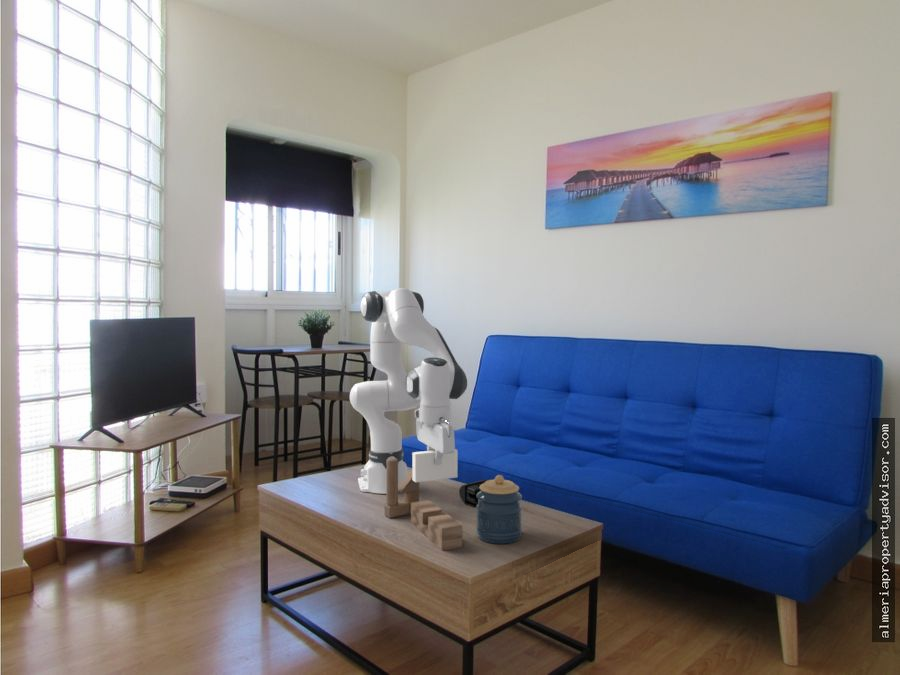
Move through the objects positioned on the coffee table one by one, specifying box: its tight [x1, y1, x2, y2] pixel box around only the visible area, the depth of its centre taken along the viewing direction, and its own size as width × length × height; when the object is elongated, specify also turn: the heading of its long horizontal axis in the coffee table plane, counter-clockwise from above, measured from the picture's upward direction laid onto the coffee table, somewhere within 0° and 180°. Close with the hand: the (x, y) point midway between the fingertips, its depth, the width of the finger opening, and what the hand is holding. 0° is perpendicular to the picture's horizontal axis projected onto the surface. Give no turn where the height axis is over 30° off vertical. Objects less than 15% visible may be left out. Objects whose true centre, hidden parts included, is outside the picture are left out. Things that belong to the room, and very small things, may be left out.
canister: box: [475, 474, 523, 545], centre depth 177 cm, size 13×13×18 cm
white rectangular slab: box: [411, 448, 459, 483], centre depth 178 cm, size 13×2×8 cm, turn 114°
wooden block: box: [384, 458, 420, 519], centre depth 195 cm, size 4×11×18 cm, turn 123°
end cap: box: [458, 479, 488, 509], centre depth 208 cm, size 10×7×7 cm
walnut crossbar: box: [410, 499, 463, 551], centre depth 179 cm, size 24×6×6 cm, turn 24°
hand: (435, 462), depth 178 cm, fingers closed on white rectangular slab, 2 cm apart
